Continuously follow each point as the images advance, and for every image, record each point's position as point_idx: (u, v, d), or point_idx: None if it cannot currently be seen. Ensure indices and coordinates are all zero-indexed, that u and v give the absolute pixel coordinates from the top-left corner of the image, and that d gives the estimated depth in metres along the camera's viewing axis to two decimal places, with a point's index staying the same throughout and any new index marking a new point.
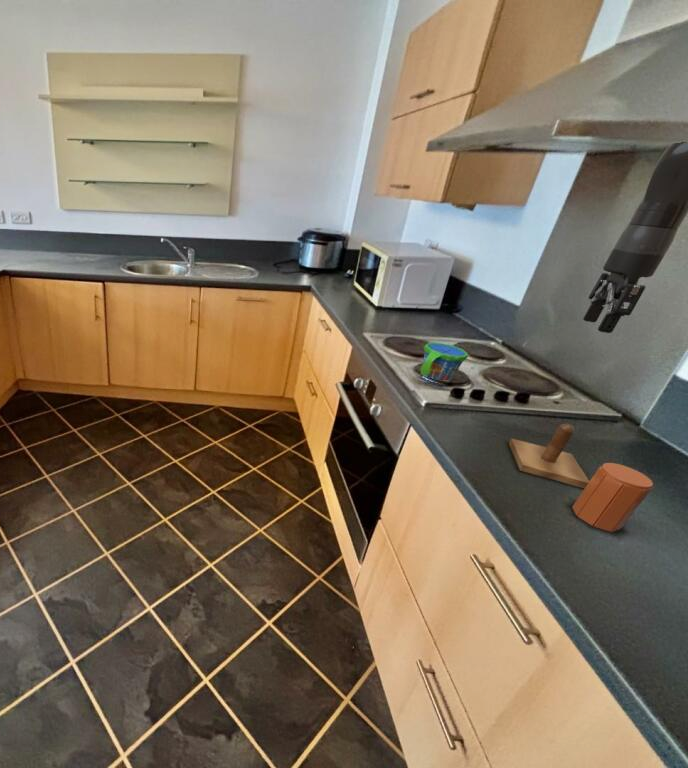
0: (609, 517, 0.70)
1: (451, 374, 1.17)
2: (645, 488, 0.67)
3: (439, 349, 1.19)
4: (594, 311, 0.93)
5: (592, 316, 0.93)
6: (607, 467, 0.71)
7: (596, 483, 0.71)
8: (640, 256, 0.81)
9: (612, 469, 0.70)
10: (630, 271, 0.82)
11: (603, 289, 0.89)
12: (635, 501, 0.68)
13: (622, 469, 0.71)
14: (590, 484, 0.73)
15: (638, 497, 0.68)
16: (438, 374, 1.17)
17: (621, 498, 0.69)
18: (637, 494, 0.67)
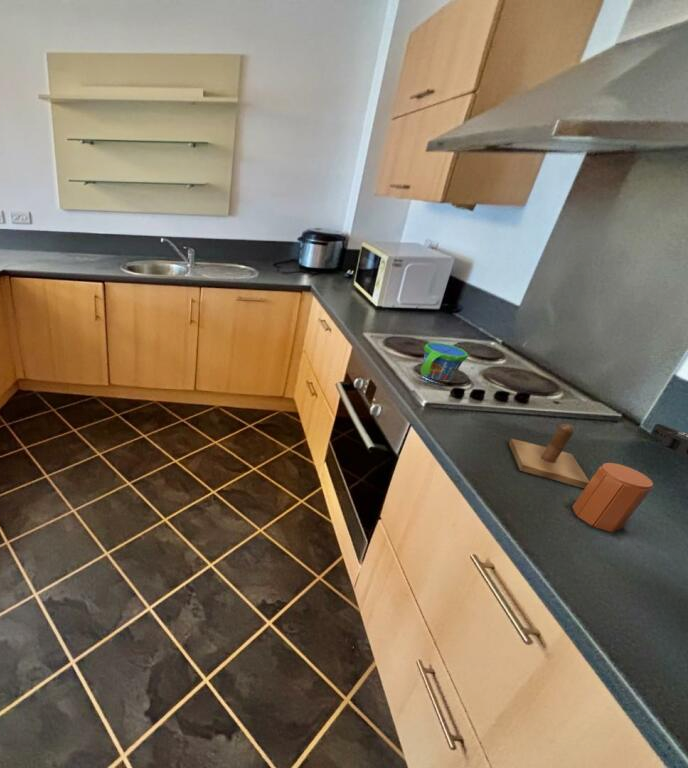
0: (609, 517, 0.70)
1: (451, 374, 1.17)
2: (645, 488, 0.67)
3: (439, 349, 1.19)
4: None
5: None
6: (607, 467, 0.71)
7: (596, 483, 0.71)
8: None
9: (612, 469, 0.70)
10: None
11: None
12: (635, 501, 0.68)
13: (622, 469, 0.71)
14: (590, 484, 0.73)
15: (638, 497, 0.68)
16: (438, 374, 1.17)
17: (621, 498, 0.69)
18: (637, 494, 0.67)
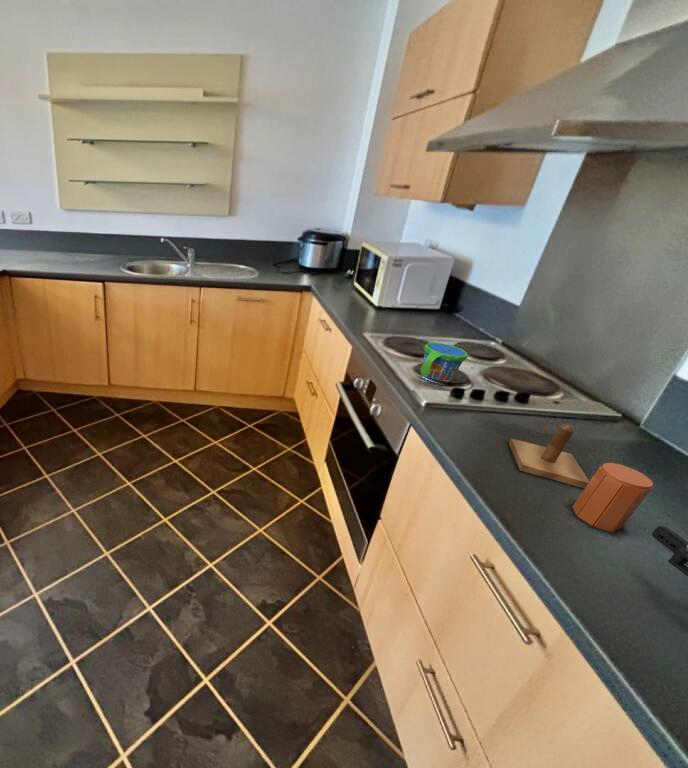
0: (609, 517, 0.70)
1: (451, 374, 1.17)
2: (645, 488, 0.67)
3: (439, 349, 1.19)
4: None
5: None
6: (607, 467, 0.71)
7: (596, 483, 0.71)
8: None
9: (612, 469, 0.70)
10: None
11: None
12: (635, 501, 0.68)
13: (622, 469, 0.71)
14: (590, 484, 0.73)
15: (638, 497, 0.68)
16: (438, 374, 1.17)
17: (621, 498, 0.69)
18: (637, 494, 0.67)
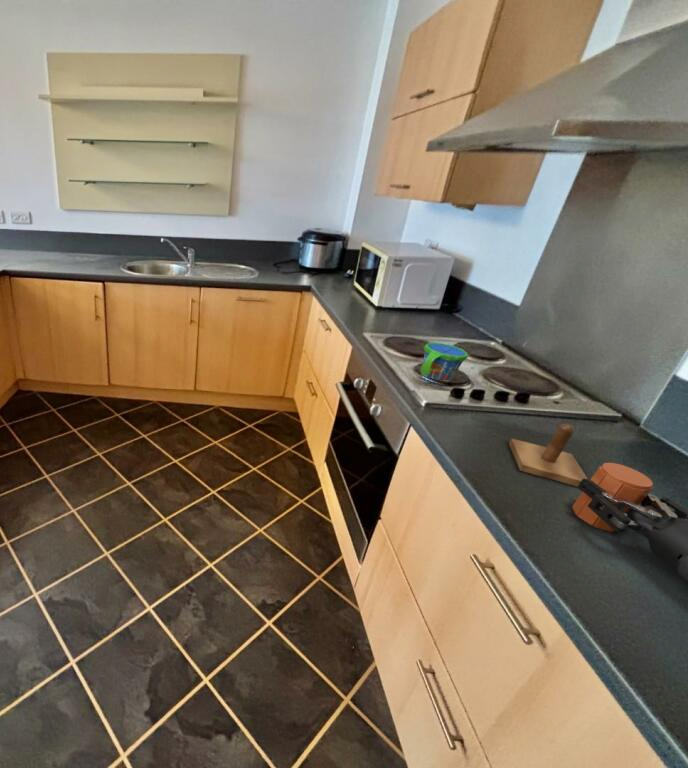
0: None
1: (451, 374, 1.17)
2: (645, 488, 0.67)
3: (439, 349, 1.19)
4: None
5: None
6: (607, 467, 0.71)
7: (596, 483, 0.71)
8: None
9: (612, 469, 0.70)
10: None
11: None
12: (635, 501, 0.68)
13: (622, 469, 0.71)
14: None
15: (638, 497, 0.68)
16: (438, 374, 1.17)
17: (621, 498, 0.69)
18: (637, 494, 0.67)
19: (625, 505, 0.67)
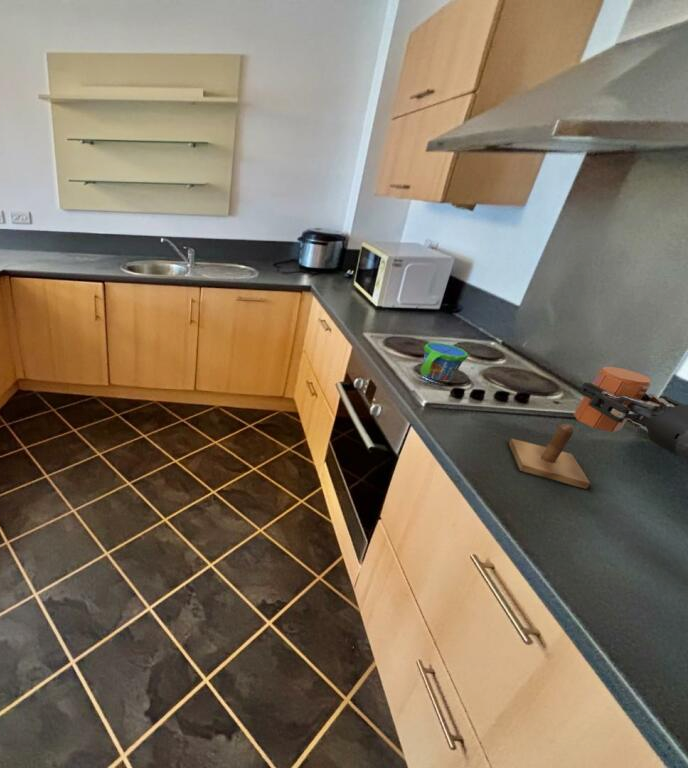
0: None
1: (451, 374, 1.17)
2: (644, 384, 0.70)
3: (439, 349, 1.19)
4: None
5: None
6: (607, 369, 0.74)
7: (597, 385, 0.74)
8: None
9: (612, 370, 0.73)
10: None
11: None
12: None
13: (622, 371, 0.74)
14: None
15: (637, 393, 0.70)
16: (438, 374, 1.17)
17: None
18: (636, 390, 0.70)
19: (625, 399, 0.69)
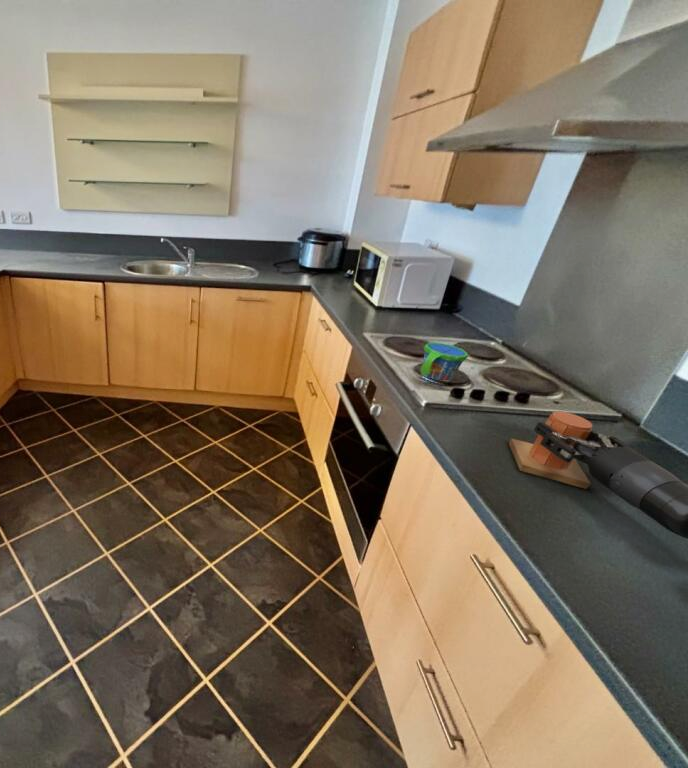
0: (557, 456, 0.83)
1: (451, 374, 1.17)
2: (585, 429, 0.80)
3: (439, 349, 1.19)
4: None
5: None
6: (556, 414, 0.84)
7: None
8: None
9: (560, 415, 0.83)
10: None
11: None
12: None
13: (568, 415, 0.83)
14: None
15: (580, 437, 0.80)
16: (438, 374, 1.17)
17: None
18: (579, 434, 0.80)
19: (571, 440, 0.79)
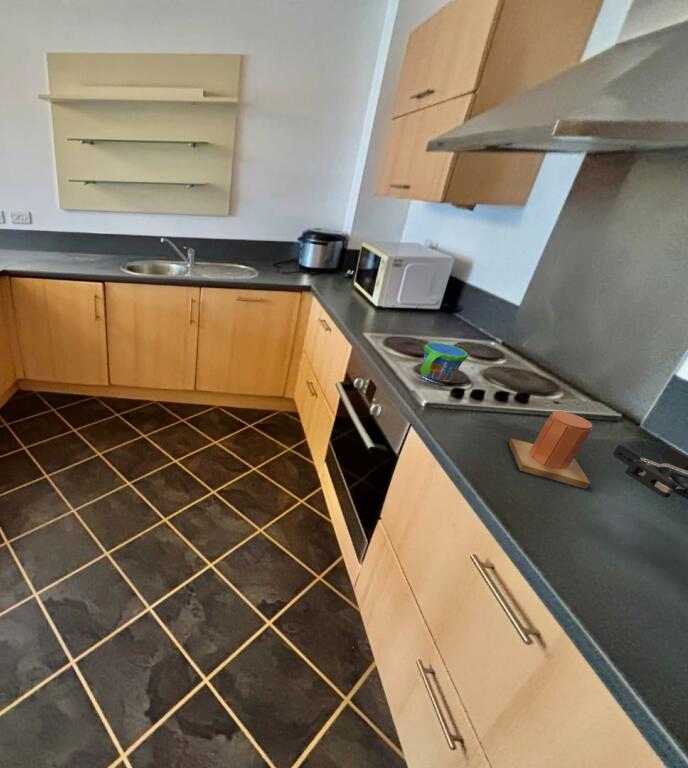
0: (557, 456, 0.83)
1: (451, 374, 1.17)
2: (585, 429, 0.80)
3: (439, 349, 1.19)
4: None
5: None
6: (556, 414, 0.84)
7: (547, 428, 0.84)
8: None
9: (560, 415, 0.83)
10: None
11: None
12: (578, 441, 0.81)
13: (568, 415, 0.83)
14: (543, 430, 0.86)
15: (580, 437, 0.80)
16: (438, 374, 1.17)
17: (566, 439, 0.81)
18: (579, 434, 0.80)
19: (667, 469, 0.64)
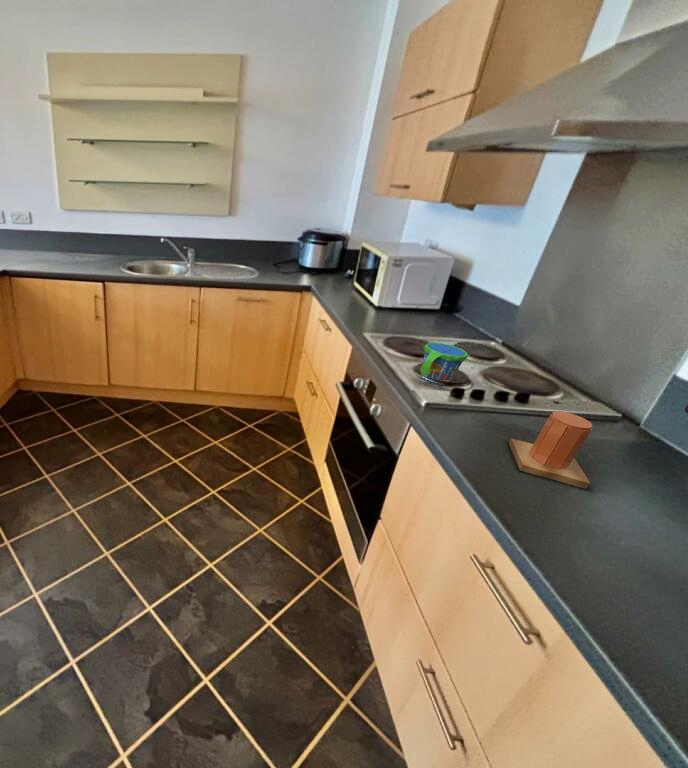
0: (557, 456, 0.83)
1: (451, 374, 1.17)
2: (585, 429, 0.80)
3: (439, 349, 1.19)
4: None
5: None
6: (556, 414, 0.84)
7: (547, 428, 0.84)
8: None
9: (560, 415, 0.83)
10: None
11: None
12: (578, 441, 0.81)
13: (568, 415, 0.83)
14: (543, 430, 0.86)
15: (580, 437, 0.80)
16: (438, 374, 1.17)
17: (566, 439, 0.81)
18: (579, 434, 0.80)
19: None
